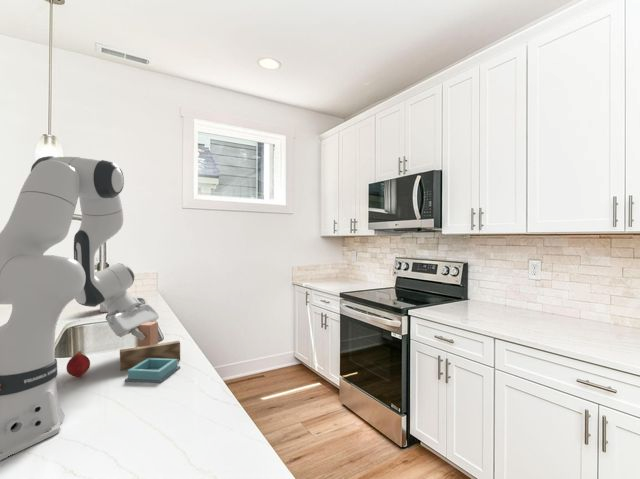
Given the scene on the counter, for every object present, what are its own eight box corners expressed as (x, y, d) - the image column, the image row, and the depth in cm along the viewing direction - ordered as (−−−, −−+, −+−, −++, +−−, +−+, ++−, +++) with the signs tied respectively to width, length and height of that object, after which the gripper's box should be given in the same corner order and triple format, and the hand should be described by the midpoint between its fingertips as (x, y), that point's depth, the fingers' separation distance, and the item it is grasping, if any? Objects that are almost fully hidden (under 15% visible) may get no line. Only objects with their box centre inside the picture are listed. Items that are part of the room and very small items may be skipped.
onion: (77, 382, 98) (77, 355, 98) (61, 381, 100) (61, 354, 99) (94, 374, 104) (94, 349, 104) (79, 373, 105) (79, 347, 105)
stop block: (150, 353, 118) (150, 325, 118) (138, 353, 119) (138, 324, 119) (157, 349, 123) (157, 322, 123) (146, 348, 123) (146, 321, 123)
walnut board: (179, 357, 118) (179, 340, 118) (180, 359, 116) (180, 342, 116) (119, 368, 109) (119, 349, 109) (119, 370, 107) (119, 352, 107)
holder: (160, 383, 98) (160, 372, 98) (124, 381, 99) (124, 371, 99) (180, 367, 109) (180, 358, 109) (147, 366, 110) (147, 357, 110)
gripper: (109, 308, 111) (137, 338, 110) (147, 297, 131) (170, 322, 130) (96, 321, 112) (124, 351, 111) (136, 308, 132) (160, 334, 131)
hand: (149, 336), depth 121 cm, fingers closed on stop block, 5 cm apart
